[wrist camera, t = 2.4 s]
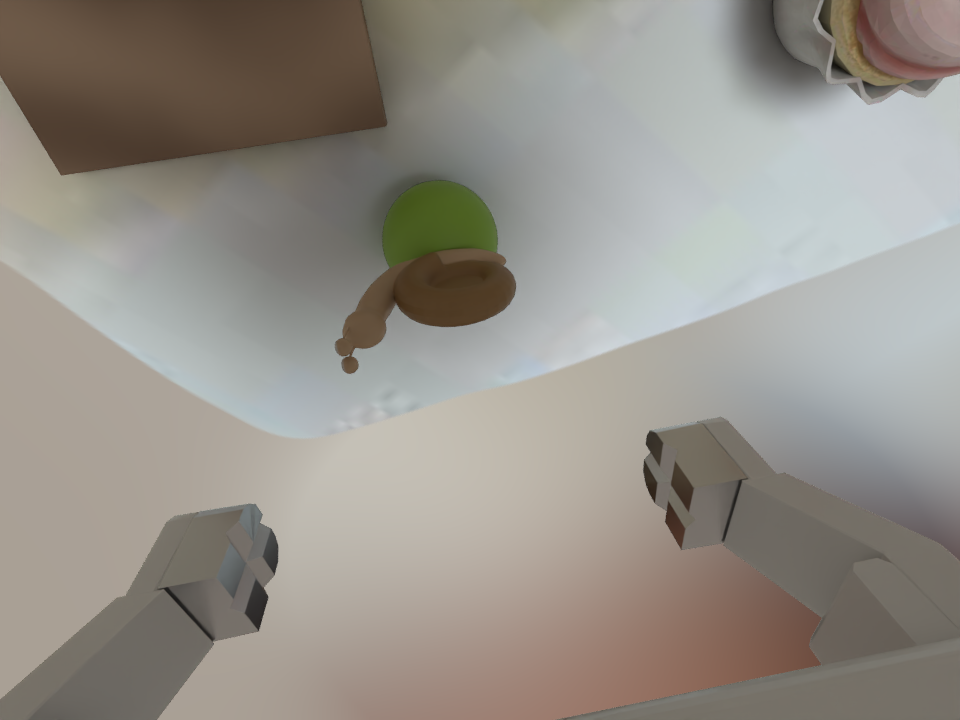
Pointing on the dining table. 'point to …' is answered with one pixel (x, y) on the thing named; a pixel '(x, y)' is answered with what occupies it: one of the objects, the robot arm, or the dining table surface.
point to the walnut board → (185, 75)
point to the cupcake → (874, 42)
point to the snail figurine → (432, 267)
